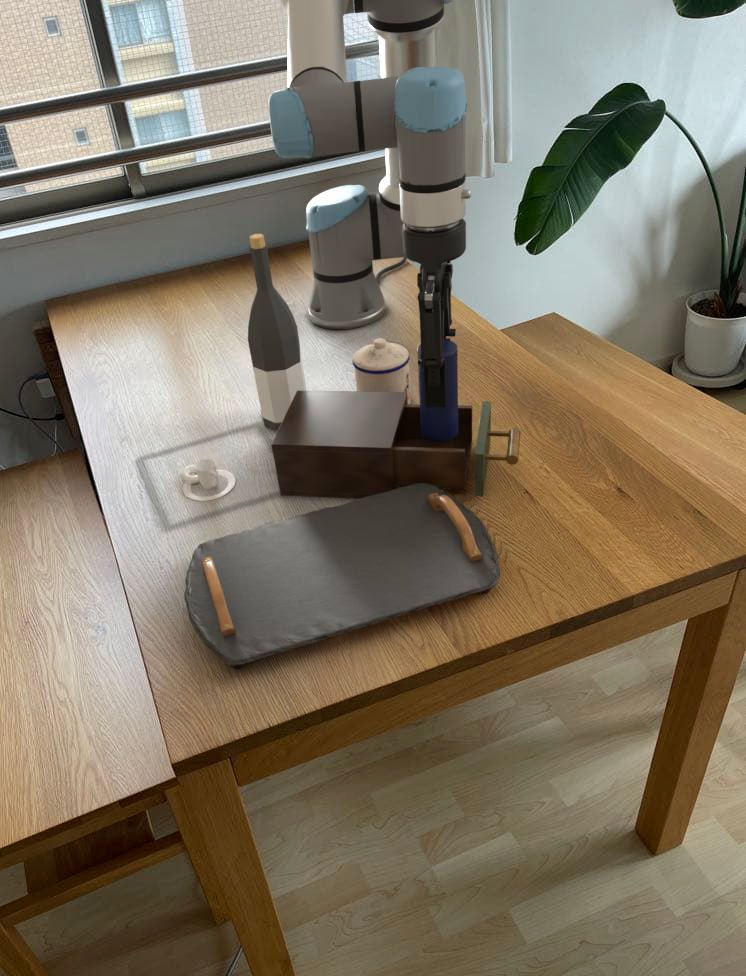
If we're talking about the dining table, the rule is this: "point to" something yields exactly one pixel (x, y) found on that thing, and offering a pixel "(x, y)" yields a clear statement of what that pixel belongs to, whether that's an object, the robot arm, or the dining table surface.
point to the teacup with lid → (382, 368)
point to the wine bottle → (272, 342)
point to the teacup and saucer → (205, 479)
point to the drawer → (448, 451)
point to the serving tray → (336, 571)
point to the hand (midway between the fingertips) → (438, 393)
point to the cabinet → (338, 443)
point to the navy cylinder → (444, 420)
